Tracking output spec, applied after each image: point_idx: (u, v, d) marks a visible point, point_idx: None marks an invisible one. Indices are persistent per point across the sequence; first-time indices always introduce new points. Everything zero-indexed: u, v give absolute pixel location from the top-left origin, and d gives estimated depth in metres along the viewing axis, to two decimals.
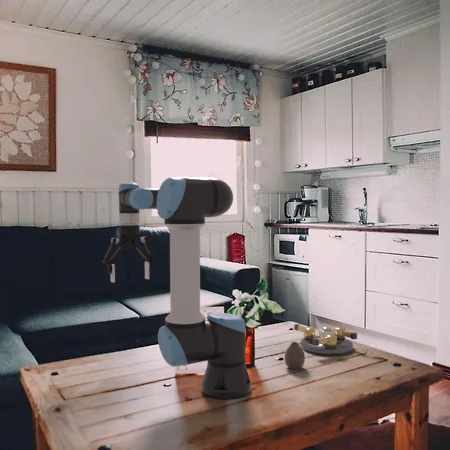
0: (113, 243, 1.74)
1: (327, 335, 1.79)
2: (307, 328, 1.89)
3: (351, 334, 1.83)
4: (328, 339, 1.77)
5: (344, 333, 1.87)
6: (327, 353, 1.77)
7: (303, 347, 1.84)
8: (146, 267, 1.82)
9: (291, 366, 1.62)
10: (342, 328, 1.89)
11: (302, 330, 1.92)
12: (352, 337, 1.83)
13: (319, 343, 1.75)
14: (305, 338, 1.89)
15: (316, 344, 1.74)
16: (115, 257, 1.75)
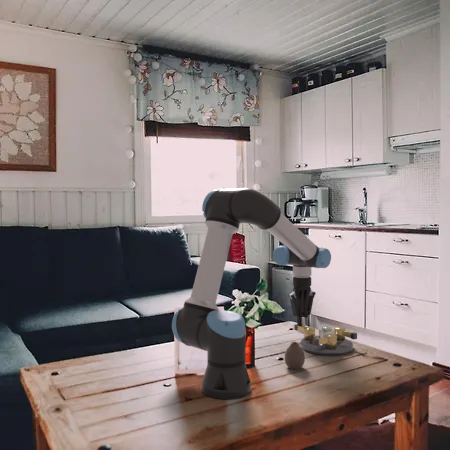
0: (293, 299, 1.92)
1: (327, 335, 1.79)
2: (307, 328, 1.89)
3: (351, 334, 1.83)
4: (328, 339, 1.77)
5: (344, 333, 1.87)
6: (327, 353, 1.77)
7: (303, 347, 1.84)
8: None
9: (291, 366, 1.62)
10: (342, 328, 1.89)
11: (302, 330, 1.92)
12: (352, 337, 1.83)
13: (319, 343, 1.75)
14: (305, 338, 1.89)
15: (316, 344, 1.74)
16: (301, 310, 1.94)
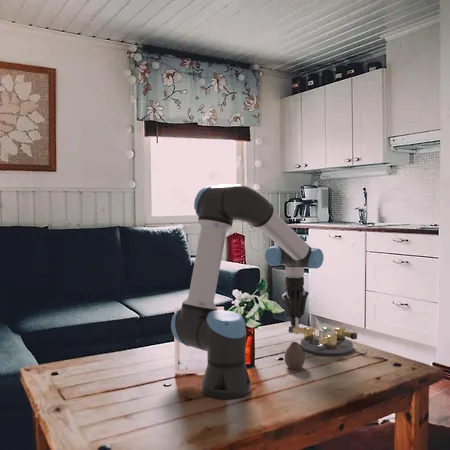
0: (286, 299, 1.90)
1: (327, 335, 1.79)
2: (308, 328, 1.89)
3: (351, 334, 1.83)
4: (328, 339, 1.77)
5: (344, 333, 1.87)
6: (327, 353, 1.77)
7: (303, 347, 1.84)
8: None
9: (291, 366, 1.62)
10: (342, 328, 1.89)
11: (300, 331, 1.91)
12: (352, 337, 1.83)
13: (319, 343, 1.75)
14: (308, 339, 1.88)
15: (316, 344, 1.74)
16: (294, 310, 1.92)
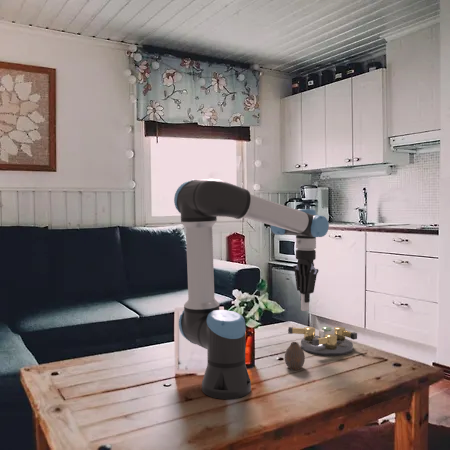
0: None
1: (327, 335, 1.79)
2: (308, 328, 1.89)
3: (351, 334, 1.83)
4: (328, 339, 1.77)
5: (344, 333, 1.87)
6: (327, 353, 1.77)
7: (303, 347, 1.84)
8: None
9: (291, 366, 1.62)
10: (342, 328, 1.89)
11: (300, 332, 1.90)
12: (352, 337, 1.83)
13: (319, 343, 1.75)
14: (309, 339, 1.88)
15: (316, 344, 1.74)
16: None
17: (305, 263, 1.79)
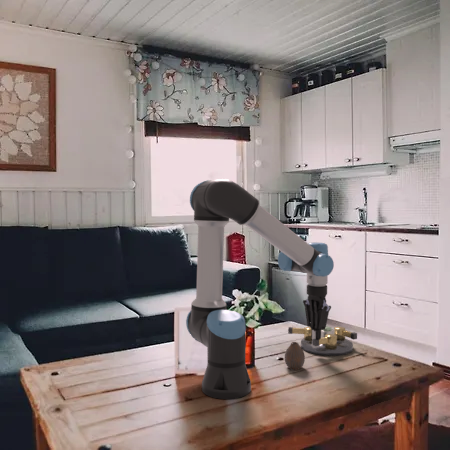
0: None
1: (327, 335, 1.79)
2: (308, 328, 1.89)
3: (351, 334, 1.83)
4: (328, 339, 1.77)
5: (344, 333, 1.87)
6: (327, 353, 1.77)
7: (303, 347, 1.84)
8: None
9: (291, 366, 1.62)
10: (342, 328, 1.89)
11: (300, 332, 1.90)
12: (352, 337, 1.83)
13: (319, 343, 1.75)
14: (309, 339, 1.88)
15: (316, 344, 1.74)
16: None
17: (317, 299, 1.74)
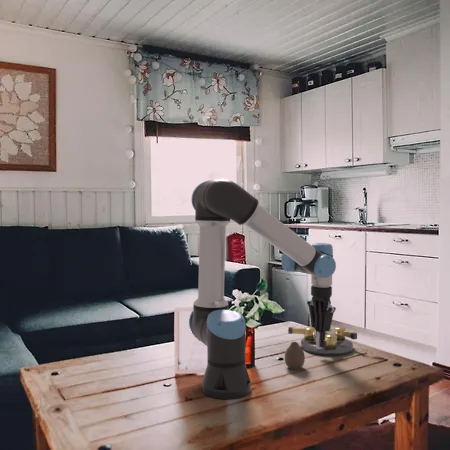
0: None
1: (327, 335, 1.79)
2: (308, 328, 1.89)
3: (351, 334, 1.83)
4: (331, 339, 1.77)
5: (344, 333, 1.87)
6: (327, 353, 1.77)
7: (303, 347, 1.84)
8: None
9: (291, 366, 1.62)
10: (342, 328, 1.89)
11: (300, 332, 1.90)
12: (352, 337, 1.83)
13: (326, 344, 1.74)
14: (309, 339, 1.88)
15: (325, 346, 1.72)
16: None
17: (321, 300, 1.72)
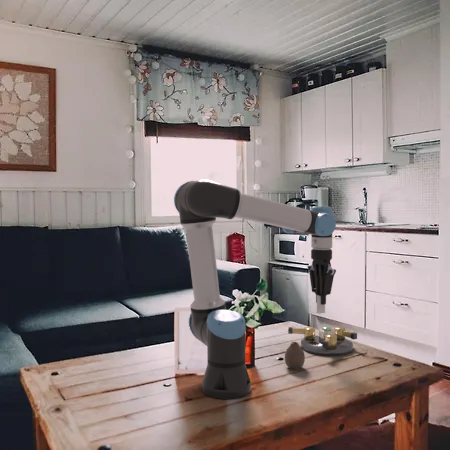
0: None
1: (328, 336, 1.79)
2: (308, 328, 1.89)
3: (351, 334, 1.83)
4: (331, 339, 1.77)
5: (344, 333, 1.87)
6: (327, 353, 1.77)
7: (303, 347, 1.84)
8: None
9: (291, 366, 1.62)
10: (342, 328, 1.89)
11: (300, 332, 1.90)
12: (352, 337, 1.83)
13: (328, 345, 1.73)
14: (309, 339, 1.88)
15: (327, 346, 1.72)
16: None
17: (321, 263, 1.71)
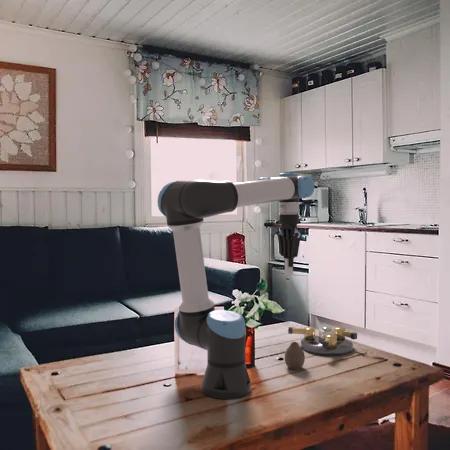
0: None
1: (328, 336, 1.79)
2: (308, 328, 1.89)
3: (351, 334, 1.83)
4: (331, 339, 1.77)
5: (344, 333, 1.87)
6: (327, 353, 1.77)
7: (303, 347, 1.84)
8: None
9: (291, 366, 1.62)
10: (342, 328, 1.89)
11: (300, 332, 1.90)
12: (352, 337, 1.83)
13: (328, 345, 1.73)
14: (309, 339, 1.88)
15: (327, 346, 1.72)
16: None
17: (288, 227, 1.79)
